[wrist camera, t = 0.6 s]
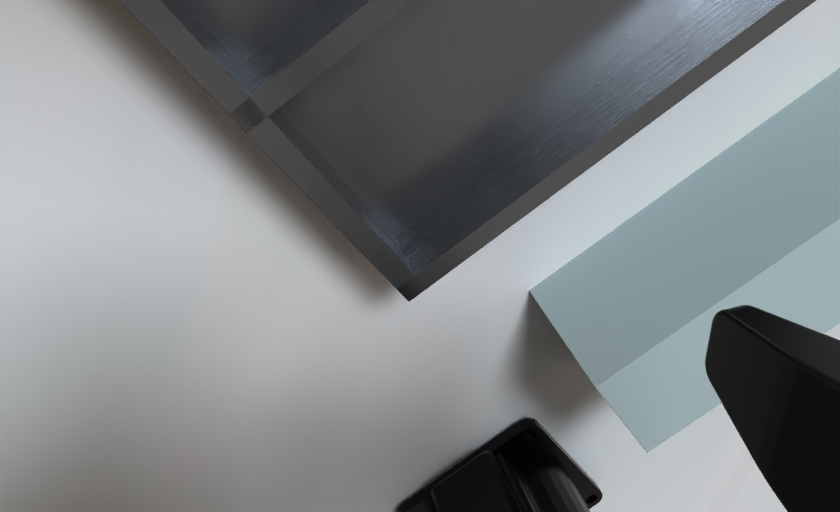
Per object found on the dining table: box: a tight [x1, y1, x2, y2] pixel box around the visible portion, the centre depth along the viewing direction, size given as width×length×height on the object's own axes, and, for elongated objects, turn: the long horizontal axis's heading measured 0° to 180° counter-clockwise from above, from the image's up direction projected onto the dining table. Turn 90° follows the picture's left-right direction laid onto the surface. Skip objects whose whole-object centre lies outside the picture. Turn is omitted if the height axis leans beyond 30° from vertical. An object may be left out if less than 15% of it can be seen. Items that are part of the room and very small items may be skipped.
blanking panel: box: [529, 68, 840, 452], centre depth 25 cm, size 12×4×5 cm, turn 124°
